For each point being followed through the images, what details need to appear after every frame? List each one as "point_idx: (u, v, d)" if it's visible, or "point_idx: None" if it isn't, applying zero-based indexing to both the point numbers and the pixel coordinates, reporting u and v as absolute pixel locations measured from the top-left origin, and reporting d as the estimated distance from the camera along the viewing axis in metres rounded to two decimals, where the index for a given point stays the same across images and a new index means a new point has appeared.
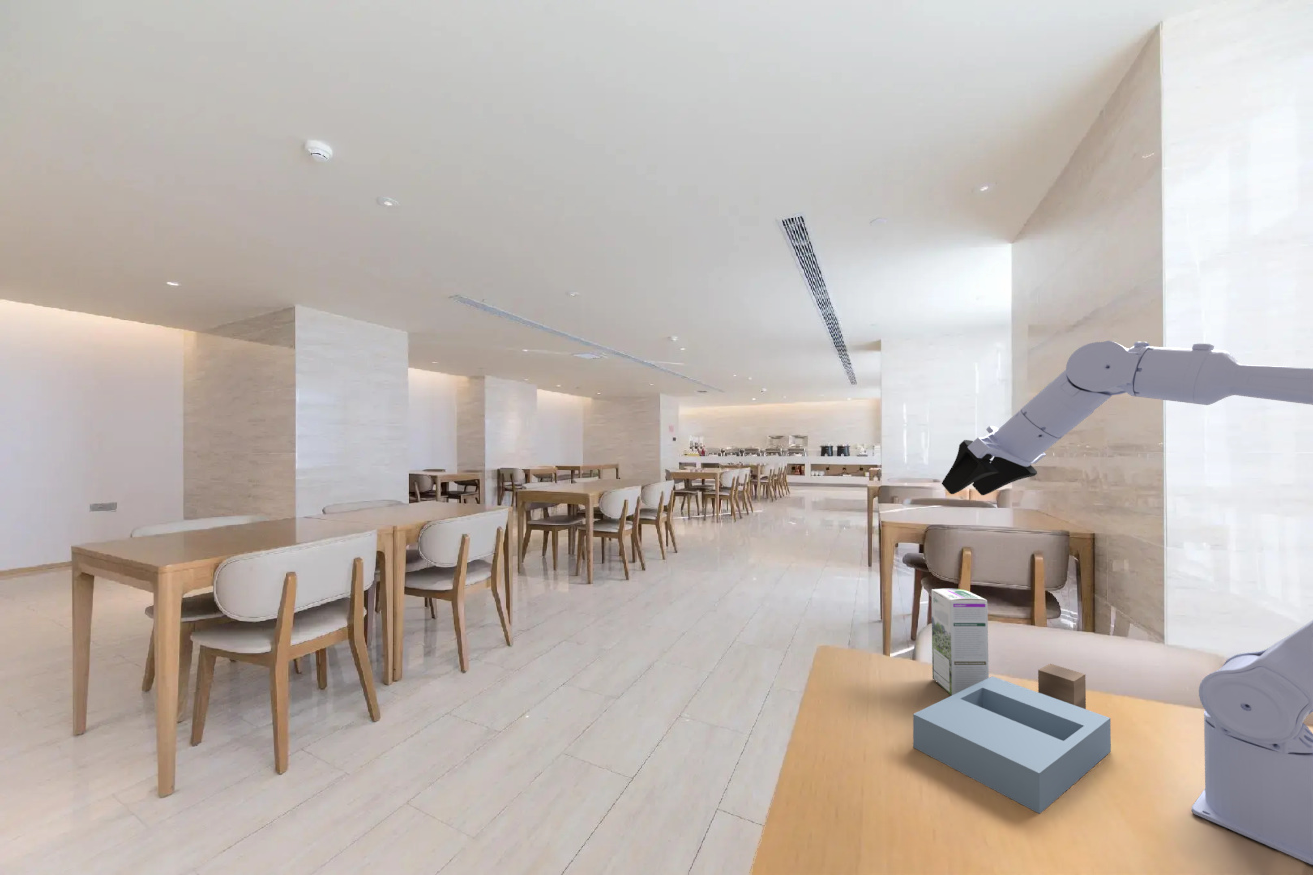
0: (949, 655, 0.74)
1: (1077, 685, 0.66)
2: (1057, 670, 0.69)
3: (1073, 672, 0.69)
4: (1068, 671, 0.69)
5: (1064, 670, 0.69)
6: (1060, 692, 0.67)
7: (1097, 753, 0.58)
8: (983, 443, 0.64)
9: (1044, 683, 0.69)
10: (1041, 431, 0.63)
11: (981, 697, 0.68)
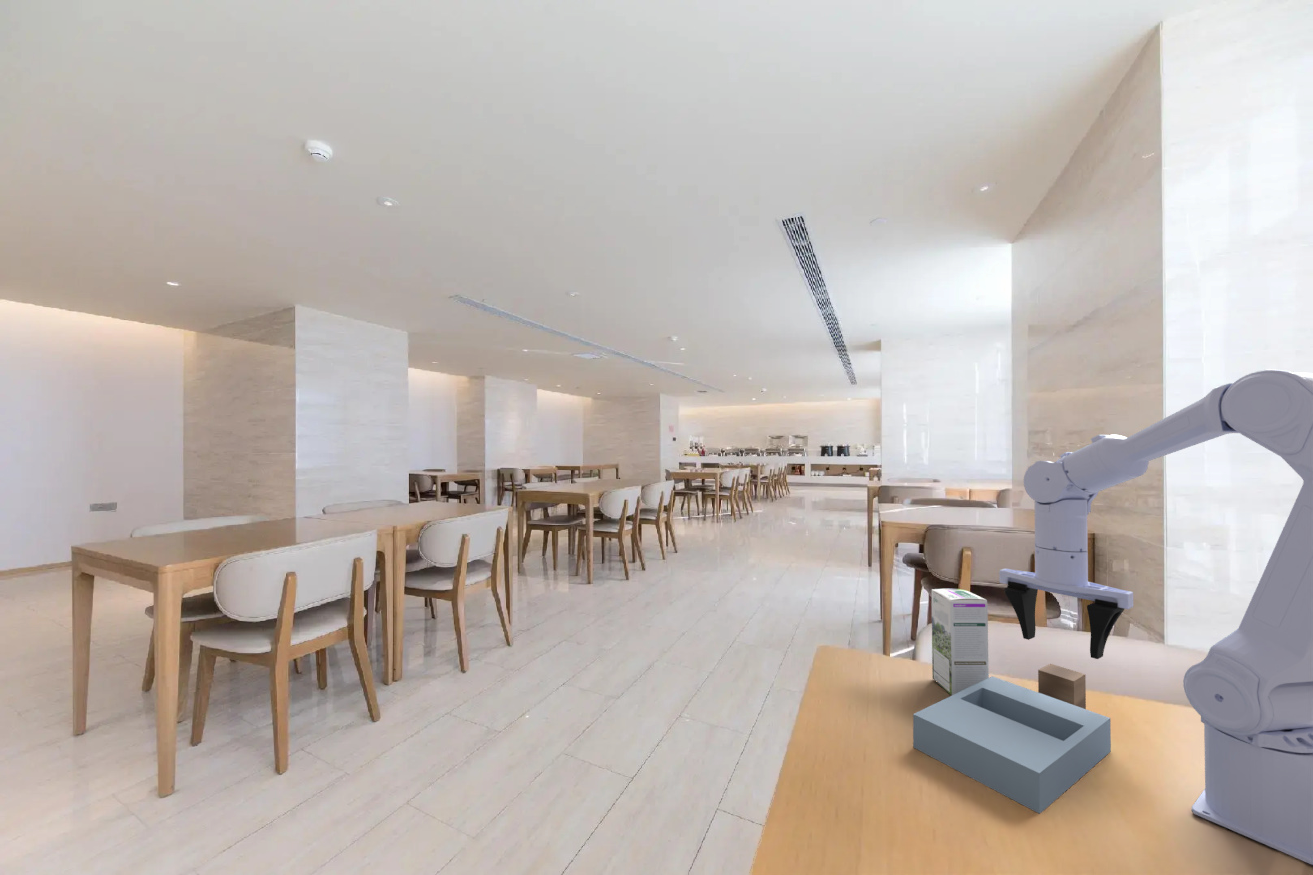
0: (949, 655, 0.74)
1: (1077, 685, 0.66)
2: (1057, 670, 0.69)
3: (1073, 672, 0.69)
4: (1068, 671, 0.69)
5: (1064, 670, 0.69)
6: (1060, 692, 0.67)
7: (1097, 753, 0.58)
8: (1002, 569, 0.75)
9: (1044, 683, 0.69)
10: (1036, 547, 0.70)
11: (981, 697, 0.68)
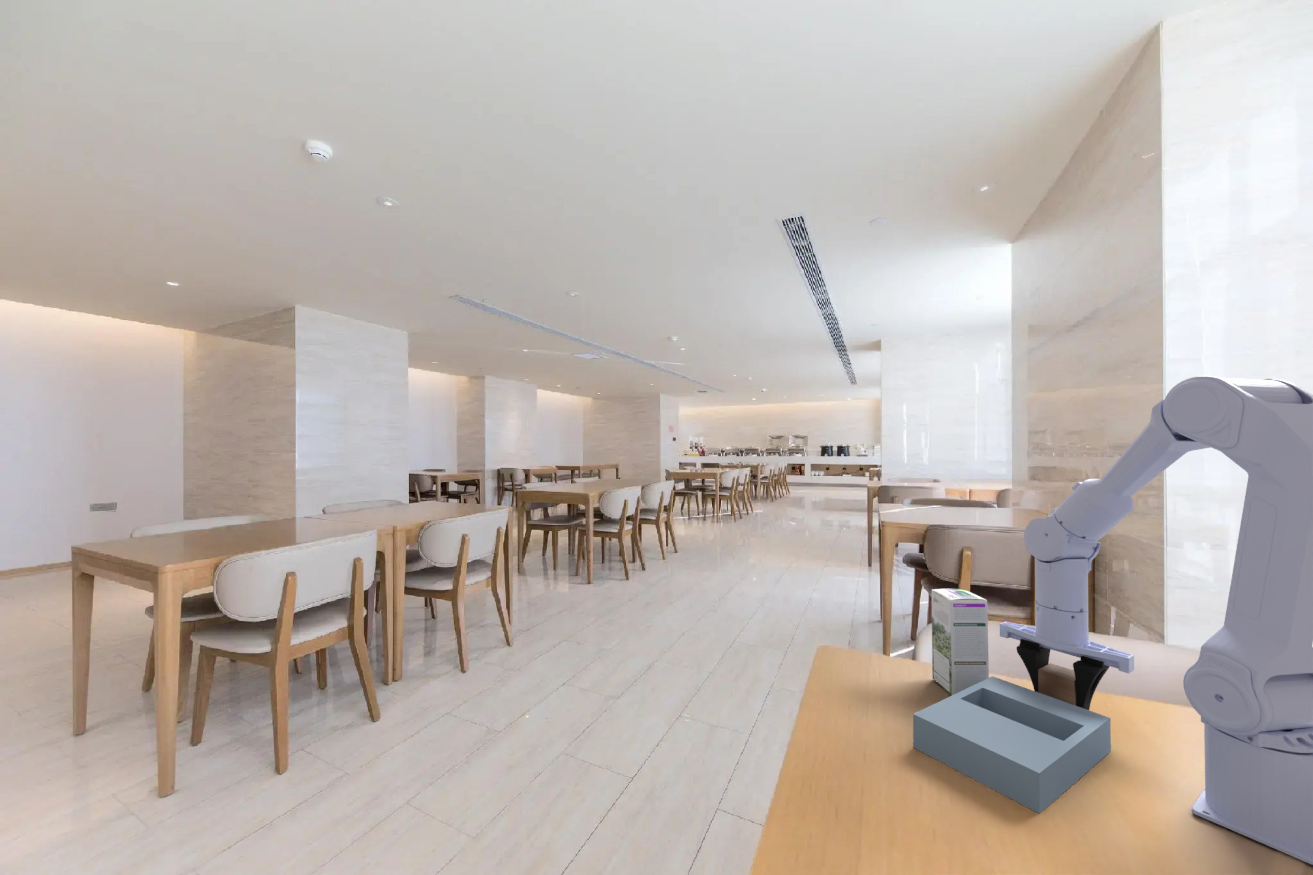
0: (949, 655, 0.74)
1: None
2: (1057, 670, 0.69)
3: (1073, 671, 0.69)
4: (1068, 671, 0.69)
5: (1064, 669, 0.69)
6: (1060, 692, 0.67)
7: (1097, 753, 0.58)
8: None
9: (1044, 683, 0.69)
10: (1036, 604, 0.70)
11: (981, 697, 0.68)
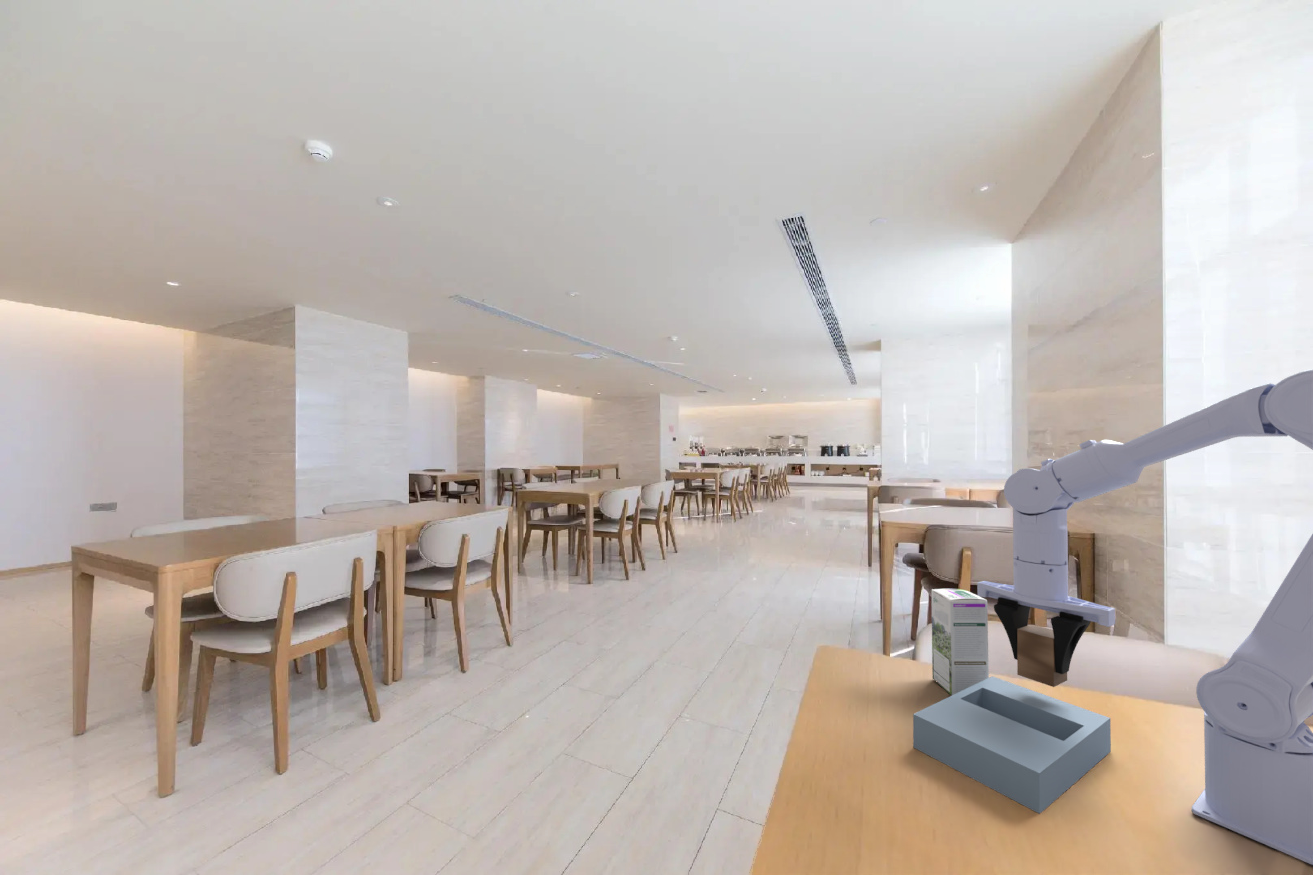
0: (949, 655, 0.74)
1: None
2: (1037, 630, 0.66)
3: None
4: (1049, 631, 0.65)
5: (1045, 629, 0.66)
6: (1039, 651, 0.64)
7: (1097, 753, 0.58)
8: (980, 582, 0.71)
9: (1023, 643, 0.65)
10: (1014, 559, 0.66)
11: (981, 697, 0.68)
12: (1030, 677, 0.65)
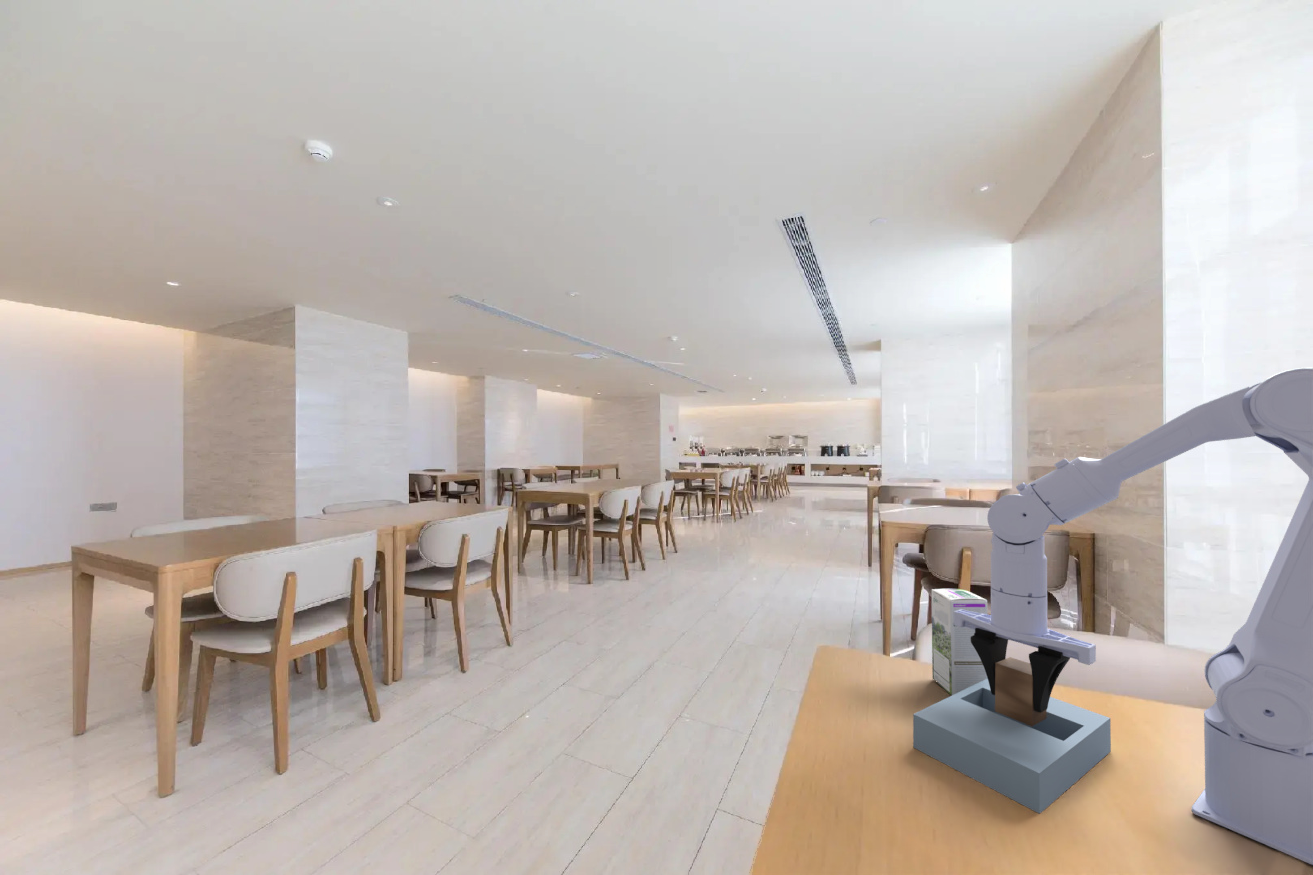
0: (949, 655, 0.74)
1: None
2: (1016, 664, 0.62)
3: None
4: (1028, 665, 0.62)
5: (1025, 663, 0.63)
6: (1018, 688, 0.61)
7: (1097, 753, 0.58)
8: (957, 610, 0.68)
9: (1001, 678, 0.62)
10: (991, 589, 0.63)
11: (981, 697, 0.68)
12: (1008, 714, 0.61)
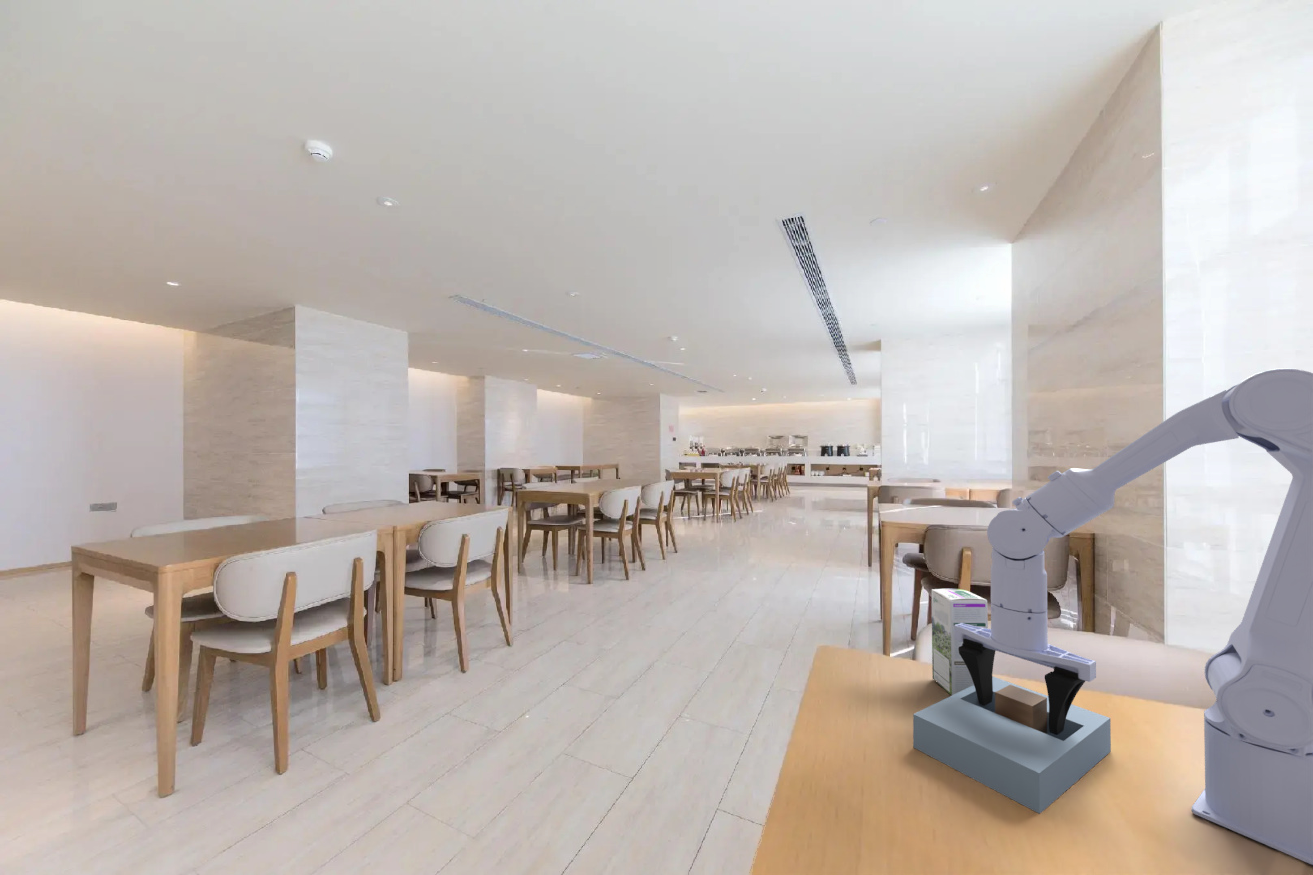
0: (949, 655, 0.74)
1: (1036, 710, 0.60)
2: (1016, 693, 0.62)
3: (1033, 694, 0.62)
4: (1028, 694, 0.62)
5: (1024, 692, 0.62)
6: (1018, 718, 0.60)
7: (1097, 753, 0.58)
8: (957, 624, 0.68)
9: (1001, 708, 0.62)
10: (991, 604, 0.63)
11: None
12: None
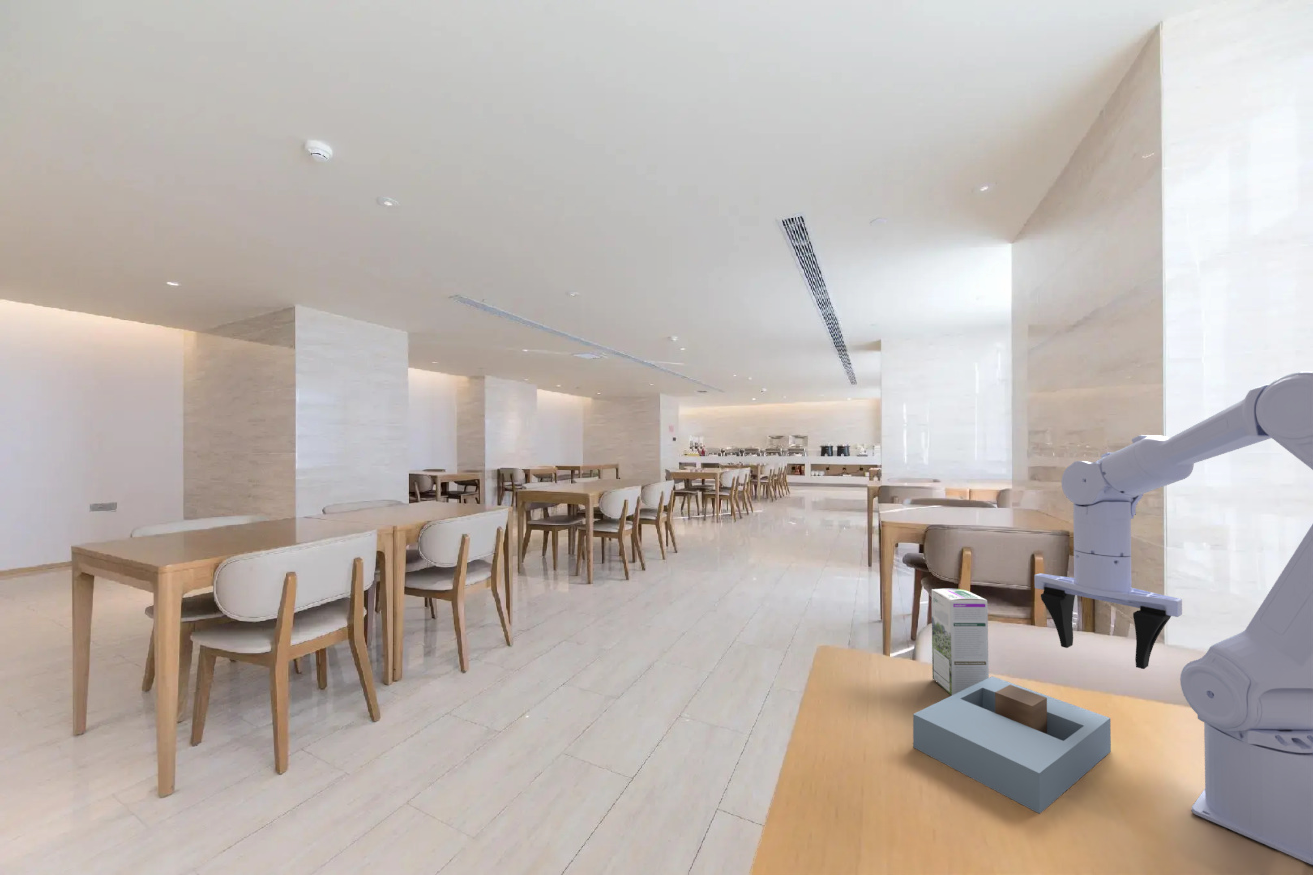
0: (949, 655, 0.74)
1: (1036, 710, 0.60)
2: (1016, 693, 0.62)
3: (1033, 694, 0.62)
4: (1028, 694, 0.62)
5: (1024, 692, 0.62)
6: (1018, 718, 0.60)
7: (1097, 753, 0.58)
8: (1037, 574, 0.72)
9: (1001, 708, 0.62)
10: (1075, 551, 0.67)
11: (981, 697, 0.68)
12: None
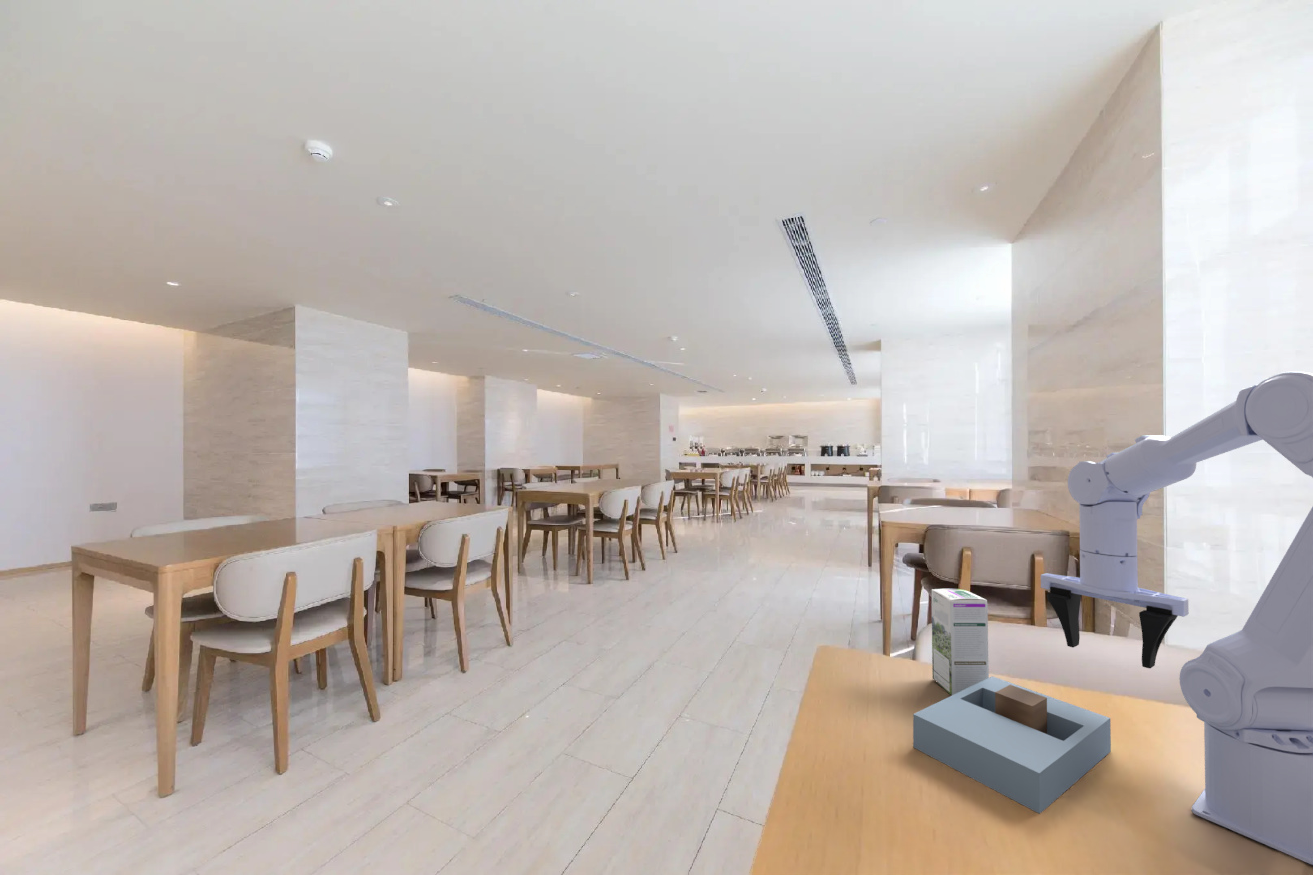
0: (949, 655, 0.74)
1: (1036, 710, 0.60)
2: (1016, 693, 0.62)
3: (1034, 694, 0.62)
4: (1028, 694, 0.62)
5: (1024, 692, 0.62)
6: (1018, 718, 0.60)
7: (1097, 753, 0.58)
8: (1043, 574, 0.72)
9: (1001, 708, 0.62)
10: (1081, 551, 0.67)
11: (981, 697, 0.68)
12: None
